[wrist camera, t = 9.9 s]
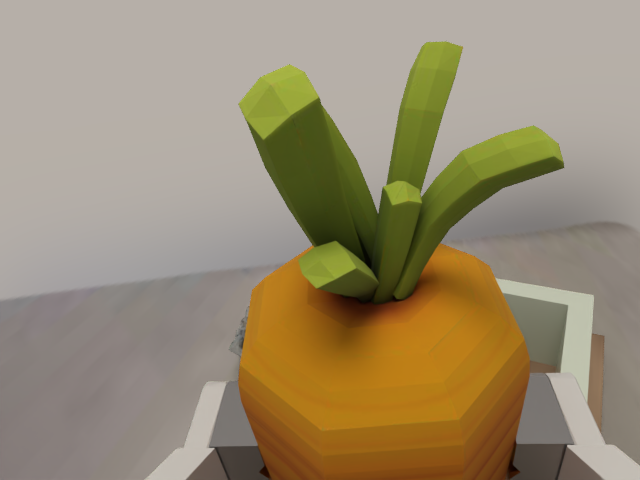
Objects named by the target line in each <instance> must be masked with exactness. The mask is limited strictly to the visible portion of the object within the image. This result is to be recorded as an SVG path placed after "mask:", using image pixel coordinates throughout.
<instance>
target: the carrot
mask: <svg viewBox="0 0 640 480" xmlns="http://www.w3.org/2000/svg"><path fill="white" fill-rule="evenodd" d="M462 49H463V47H462V46H458V45H455V44H452V43H449V42H427V43H425V44H424V45H423V46H422V48H421V50H420V52H419V54H418V56H417V58H416V60H415V62H414V64H413V66H412V68H411V71H410V74H409V77H408V81H407V84H406V88H405V91H404V95H403V98H402V102H401V106H400V110H399V115H398V121H397V127H396V133H395V139H394V144H393V150H392V156H391V161H390V167H389V174H388V180H387V185H386V186H384V187H383V189H382V196H381V201H380V208H379V213H377V210H376V208H375V205H374V202H373V199H372V196H371V194H370V191H369V189H368V186H367V184H366V181H365V179H364V177H363V174H362V172H361V169H360V167H359V165H358V162H357V160H356V158H355V157H354V155H353V153H352V152H351V150H350V148H349V147H348V145H347V143H346V142H345V140H344V138H343V137H342V135H341V133H340V132H339V130H338V128H337V127H336V125H335V123H334V122H333V120H332V119H331V117H330V116H329V114H328V113H327V112H326V110H325V109H324V108H323V106H322V105H321V102H320V98H319V96H318V94H317V93H316V91H315V89H314V87H313V86H312V84H311V82H310V80H309V79H308V77H307V75H306V74H305V72H303V71H301V70H299V69H298V68H296V67H294V66H292V65H290V64H289V65H287V66H285V67H282V68H280V69H278V70H276V71H273V72H271V73H269V74H267V75H264V76H262V77H260V78H259V79H258V81H257V82H256V83H255V84H254V86H253V87H252V88H251V89H250V91H249V92H248V93H247V94H246V95H245V97H244V98H243V99H242V100H241V102H240V103H239V106H240V108H241V110H242V113H243V115H244V117H245V119H246V121H247V123H248V125H249V128H250V130H251V133H252V135H253V138H254V141H255V143H256V146H257V148H258V151H259V153H260V156H261V158H262V161H263V163H264V166H265V168H266V170H267V171H268V173H269V175H270V177H271V179H272V180H273V182H274V184H275V186H276V187H277V189H278V191H279V193H280V194H281V196H282V198H283V200H284V201H285V203H286V205H287V207H288V208H289V210H290V211H291V213H292V214H293V216H294V217H295V219H296V220H297V222H298V224H299V225H300V227H301V228H302V230H303V231H304V233H305V234H306V236H307V237H308V238H309V240H310V242H311V243H312V246H311V247H310V248H308V249H307V250H305V251H304V252H302V253H301V254H299V255H298V256H296V257H295V258H293V259H292V260H290V261H289V262H287V263H286V264H285V265H283V266H282V267H280V268H279V269H277V270H276V271H274V272H273V273H271V274H270V275H268V276H267V277H265V278H264V279H263V280H262V281H261V282H260V283H259V284H258V285H257V286H256V287H255V288H254V289H253V290H252V295H251V301H250V307H249V313H248V319H247V325H246V331H245V337H244V343H243V349H242V355H241V361H240V369H239V380H238V387H239V392H240V398H241V402H242V405H243V408H244V410H245V413H246V415H247V418H248V421H249V423H250V426H251V428H252V431H253V434H254V436H255V439H256V442H257V444H258V447H259V449H260V452H261V455H262V457H263V460H264V462H265V465H266V467H267V469H268V472H269V474H270V476H271V478H272V480H505V477H506V474H507V470H508V467H509V463H510V460H511V456H512V452H513V448H514V443H515V439H516V436H517V432H518V427H519V423H520V418H521V414H522V409H523V404H524V400H525V395H526V391H527V386H528V382H529V377H530V357H529V354H528V350H527V346H526V343H525V339H524V337H523V335H522V333H521V331H520V329H519V327H518V324H517V322H516V320H515V318H514V316H513V314H512V312H511V310H510V308H509V306H508V304H507V302H506V300H505V297H504V295H503V293H502V291H501V289H500V287H499V285H498V283H497V281H496V279H495V277H494V275H493V272H492V270H491V268H490V266H489V265H487V264H485V263H484V262H482V261H481V260H479V259H478V258H476V257H475V256H472V255H470V254H467V253H464V252H462V251H459V250H457V249H454V248H451V247H449V246H446V245H443V244H441V243H440V242H441V241H442V239H443V238H444V236H445V235H446V233H447V232H448V230H449V229H450V228H451V227H452V226H454V225H455V224H456V223H457V222H458V221H459V220H461V219H462V218H463V217H464V216H465V215H466V214H468V213H469V212H470V211H471V210H472V209H473V208H475V207H476V206H478V205H479V204H481V203H482V202H483V201H485V200H486V199H488V198H489V197H491V196H492V195H493V194H495V193H496V192H498V191H499V190H501V189H502V188H505V187H507V186H511V185H514V184H517V183H520V182H523V181H526V180H529V179H532V178H535V177H538V176H541V175H544V174H547V173H550V172H553V171H556V170H559V169H562V168H564V163H563V159H562V155H561V151H560V147H559V144H558V143H557V142H555V141H554V140H553V139H552V138H550V137H549V136H548V135H547V134H546V133H545V132H543V131H542V130H541V129H539V128H537V127H535V126H530V127H526V128H522V129H519V130H515V131H512V132H508V133H504V134H501V135H498V136H495V137H493V138H491V139H488V140H486V141H484V142H482V143H479V144H477V145H475V146H473V147H471V148H468V149H466V150H463V151H462V152H461V153H460V154H459V155H458V156H457V157H456V158H455V159H454V160H453V161H452V162H451V163H450V164H449V165H448V166H447V167H446V168H445V169H444V170H443V171H442V172H441V173H440V174H439V176H438V177H436V179H435V180H434V181H433V183H432V184H431V185H430V187H429V188H428V189H427V191H426V192H425V193H424V195H423V196H422V197H421V195H420V193H421V189H422V186H423V183H424V179H425V175H426V172H427V168H428V165H429V161H430V158H431V154H432V151H433V147H434V143H435V140H436V137H437V133H438V130H439V126H440V123H441V119H442V116H443V112H444V109H445V106H446V103H447V100H448V97H449V94H450V91H451V88H452V85H453V82H454V79H455V75H456V71H457V67H458V64H459V60H460V56H461V53H462Z"/></svg>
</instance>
